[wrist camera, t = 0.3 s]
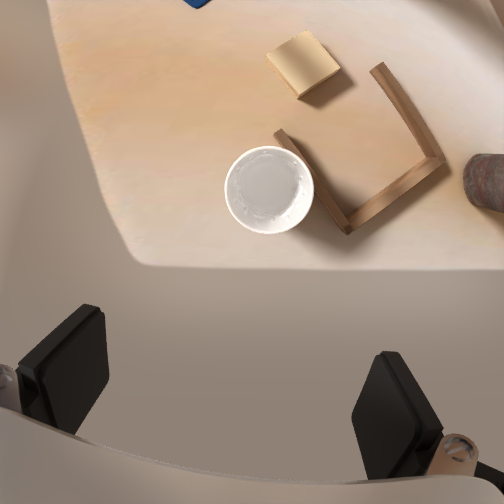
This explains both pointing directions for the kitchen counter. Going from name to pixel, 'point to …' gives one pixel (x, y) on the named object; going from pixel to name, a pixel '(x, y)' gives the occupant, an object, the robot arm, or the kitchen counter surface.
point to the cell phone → (196, 3)
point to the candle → (485, 181)
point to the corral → (401, 184)
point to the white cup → (269, 190)
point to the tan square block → (302, 63)
